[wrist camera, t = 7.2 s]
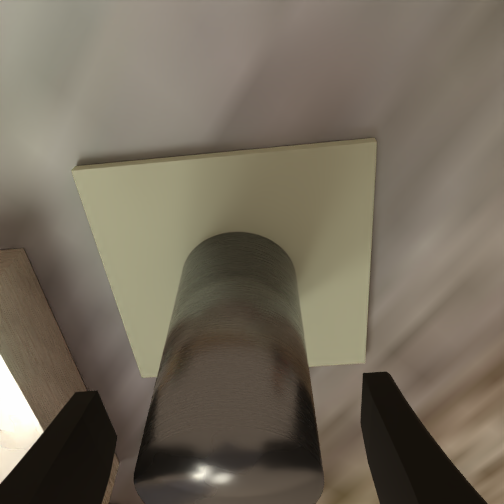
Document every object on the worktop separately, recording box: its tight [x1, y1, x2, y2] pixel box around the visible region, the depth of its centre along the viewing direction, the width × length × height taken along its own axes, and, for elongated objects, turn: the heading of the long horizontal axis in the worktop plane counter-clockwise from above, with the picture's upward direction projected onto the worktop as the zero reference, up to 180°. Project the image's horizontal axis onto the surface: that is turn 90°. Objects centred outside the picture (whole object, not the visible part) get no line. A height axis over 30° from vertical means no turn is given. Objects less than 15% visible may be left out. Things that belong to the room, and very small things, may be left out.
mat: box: [71, 138, 377, 378], centre depth 17 cm, size 10×10×1 cm
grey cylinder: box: [134, 232, 324, 504], centre depth 14 cm, size 4×4×8 cm
